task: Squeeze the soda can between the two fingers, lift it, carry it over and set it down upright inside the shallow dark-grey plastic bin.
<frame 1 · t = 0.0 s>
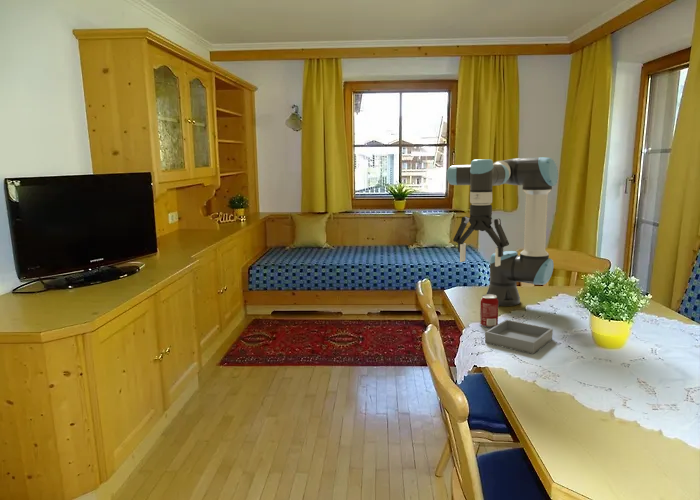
hand: (479, 263, 174), 28 cm above the table, fingers open, 13 cm apart
soda can: (488, 326, 192), on the table
bin: (518, 341, 175), on the table
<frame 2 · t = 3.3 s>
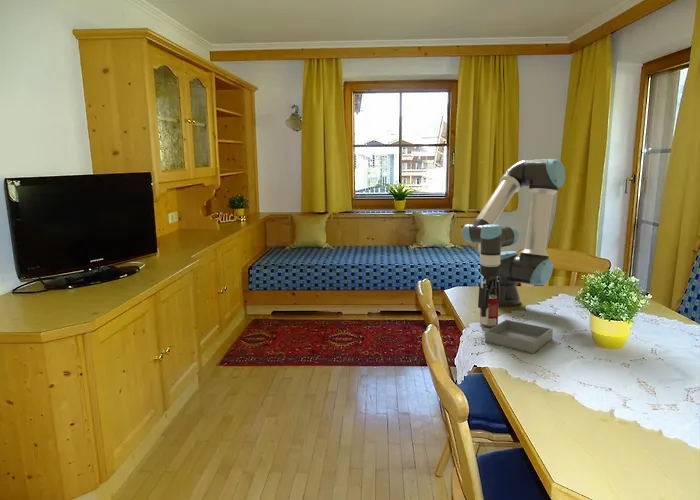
hand: (488, 321, 192), 2 cm above the table, fingers closed on soda can, 7 cm apart
soda can: (488, 325, 192), on the table, touching gripper
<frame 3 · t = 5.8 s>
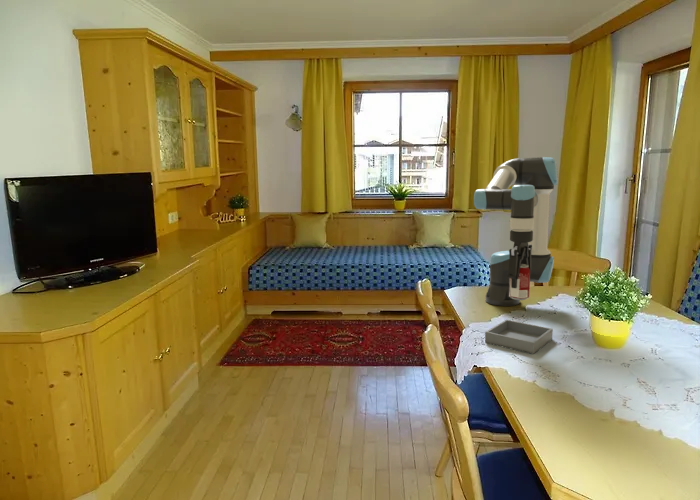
hand: (519, 294, 172), 17 cm above the table, fingers closed on soda can, 7 cm apart
soda can: (518, 298, 172), point 16 cm above the table, touching gripper
when the fingers open (4 cm above the table, at t = 8.5 s): soda can drops 2 cm, resting on bin.
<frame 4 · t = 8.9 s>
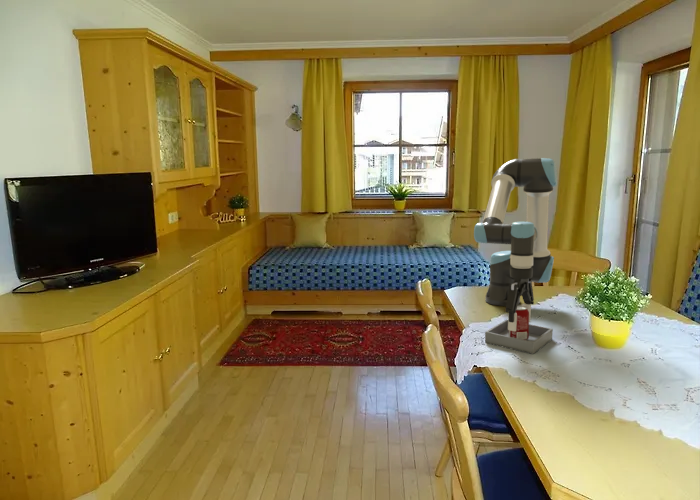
hand: (519, 325, 174), 6 cm above the table, fingers open, 11 cm apart
soda can: (518, 339, 175), resting on bin
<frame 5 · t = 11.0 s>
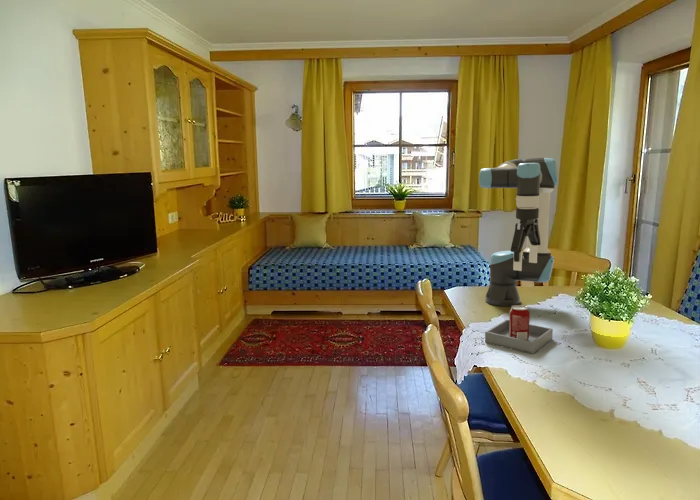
hand: (525, 266, 175), 26 cm above the table, fingers open, 13 cm apart
nothing on the table moved.
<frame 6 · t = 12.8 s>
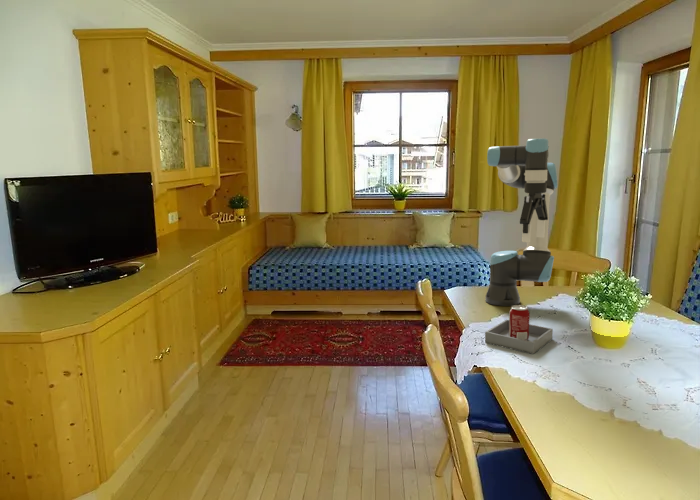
hand: (533, 239, 181), 35 cm above the table, fingers open, 13 cm apart
nothing on the table moved.
at the end: soda can inside the target area on the bin (0.1 cm from its centre), point 0.4 cm above the bin's base; soda can tilted 0°; the gripper is holding nothing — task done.
